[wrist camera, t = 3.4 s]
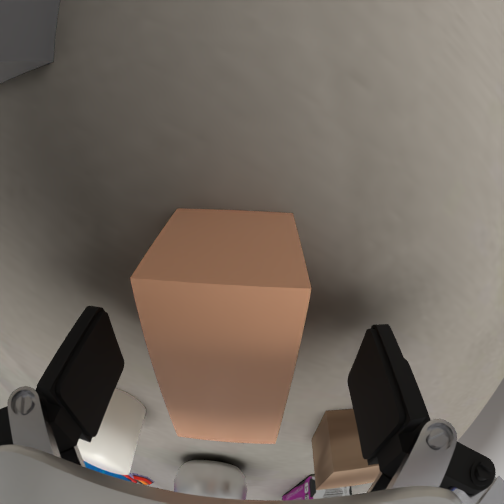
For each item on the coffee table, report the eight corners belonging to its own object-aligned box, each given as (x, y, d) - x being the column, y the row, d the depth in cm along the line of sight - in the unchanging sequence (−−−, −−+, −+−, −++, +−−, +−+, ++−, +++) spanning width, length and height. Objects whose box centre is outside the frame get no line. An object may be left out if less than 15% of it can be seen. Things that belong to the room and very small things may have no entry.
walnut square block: (325, 409, 16) (333, 471, 12) (388, 403, 16) (403, 459, 12) (311, 437, 18) (315, 490, 14) (366, 432, 18) (376, 481, 14)
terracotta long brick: (178, 206, 10) (130, 277, 6) (292, 211, 10) (311, 288, 6) (194, 359, 14) (177, 436, 10) (273, 364, 14) (275, 443, 10)
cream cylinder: (85, 380, 16) (59, 439, 11) (138, 392, 16) (117, 459, 11) (103, 410, 18) (85, 463, 13) (151, 421, 18) (137, 479, 13)
